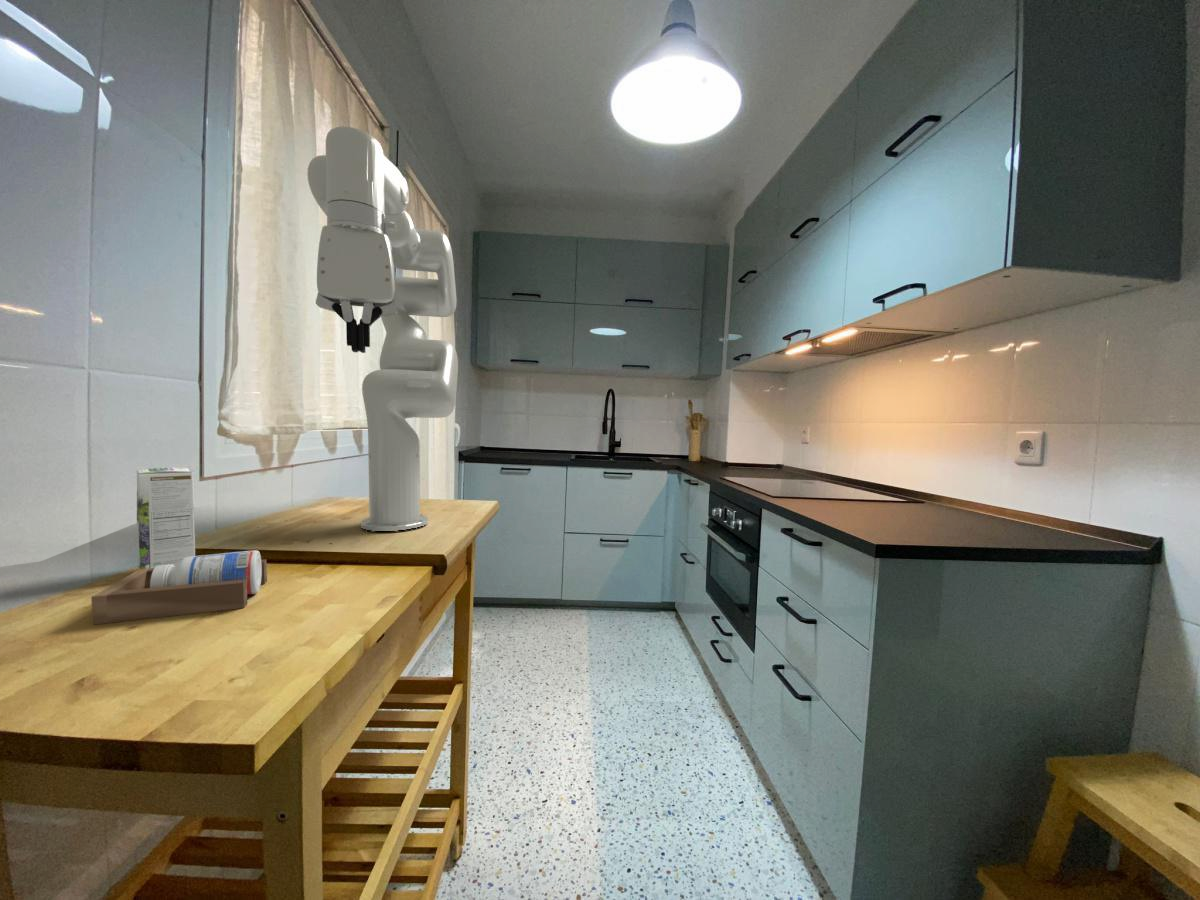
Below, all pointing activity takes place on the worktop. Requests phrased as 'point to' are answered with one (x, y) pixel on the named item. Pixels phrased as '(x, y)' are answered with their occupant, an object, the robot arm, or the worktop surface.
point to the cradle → (166, 598)
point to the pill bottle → (211, 570)
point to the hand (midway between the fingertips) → (358, 351)
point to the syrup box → (165, 516)
